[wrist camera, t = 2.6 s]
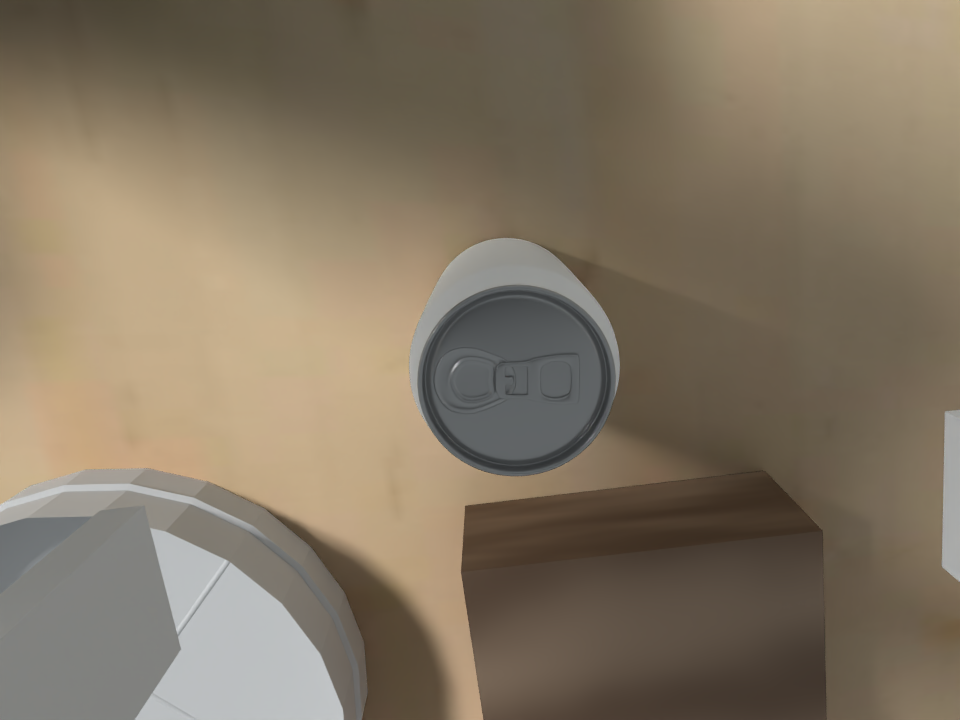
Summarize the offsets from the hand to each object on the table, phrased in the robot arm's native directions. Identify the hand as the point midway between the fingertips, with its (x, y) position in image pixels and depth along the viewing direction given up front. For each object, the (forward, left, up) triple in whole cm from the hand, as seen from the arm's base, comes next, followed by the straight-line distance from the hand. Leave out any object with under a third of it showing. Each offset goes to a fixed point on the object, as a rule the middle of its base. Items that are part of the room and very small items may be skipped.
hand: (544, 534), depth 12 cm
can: (0, 0, -21) cm, 21 cm away
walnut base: (+16, +4, -21) cm, 26 cm away
